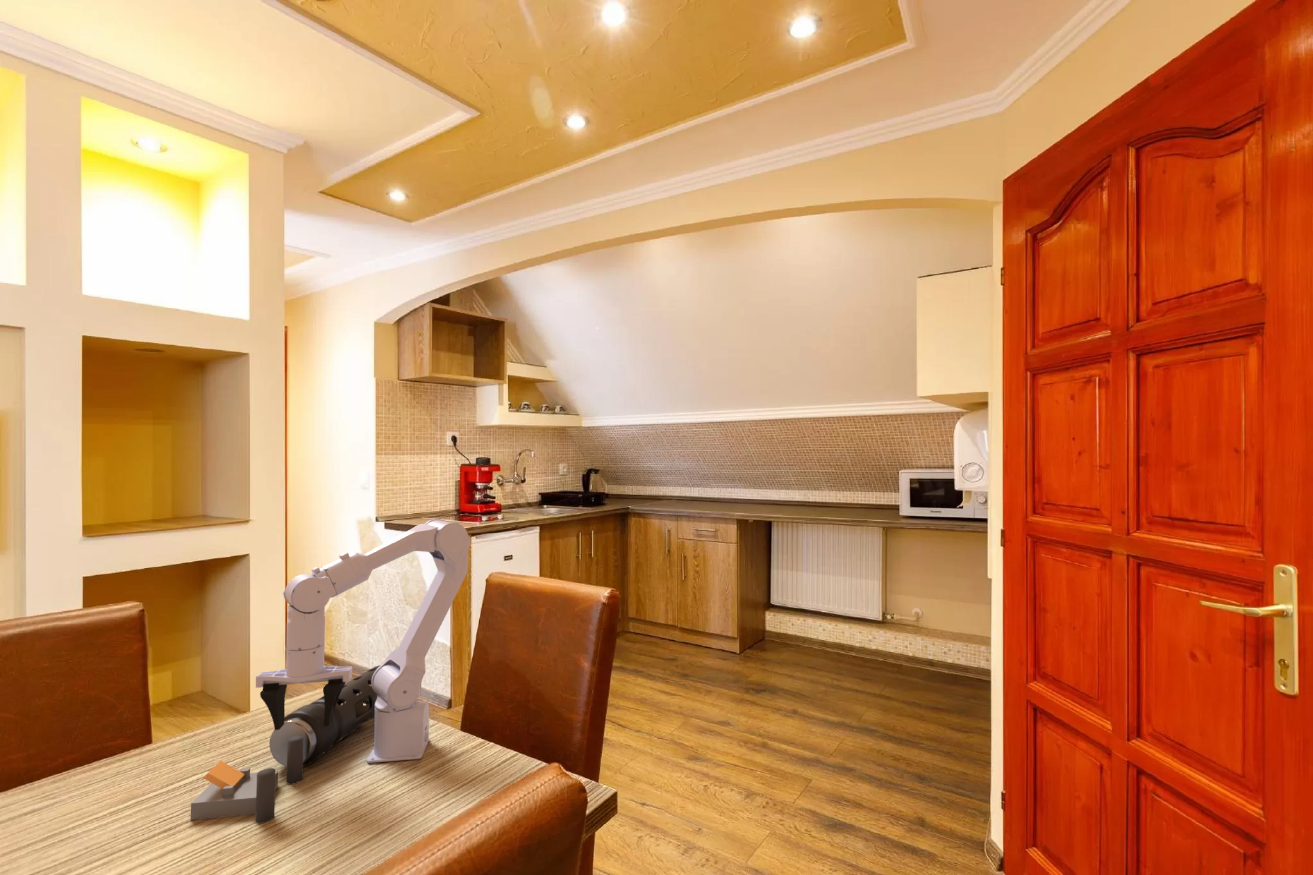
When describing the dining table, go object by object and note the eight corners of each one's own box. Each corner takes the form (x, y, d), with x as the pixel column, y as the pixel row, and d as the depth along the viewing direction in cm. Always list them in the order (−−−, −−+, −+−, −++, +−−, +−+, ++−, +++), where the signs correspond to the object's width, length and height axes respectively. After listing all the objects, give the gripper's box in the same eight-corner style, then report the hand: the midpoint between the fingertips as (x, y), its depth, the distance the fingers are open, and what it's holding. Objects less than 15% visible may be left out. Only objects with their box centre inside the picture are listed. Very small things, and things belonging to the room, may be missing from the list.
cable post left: (277, 812, 94) (278, 767, 94) (270, 822, 91) (271, 775, 92) (260, 814, 93) (261, 768, 94) (252, 823, 91) (253, 777, 91)
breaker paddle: (244, 774, 99) (220, 760, 98) (232, 786, 95) (207, 772, 94) (240, 779, 98) (216, 765, 98) (228, 792, 95) (203, 778, 94)
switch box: (277, 785, 101) (278, 763, 101) (255, 813, 93) (256, 789, 94) (218, 791, 100) (219, 767, 100) (190, 819, 92) (191, 794, 92)
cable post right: (304, 775, 105) (305, 735, 105) (299, 783, 102) (300, 741, 102) (289, 777, 104) (290, 736, 104) (283, 784, 102) (284, 742, 102)
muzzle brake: (362, 709, 134) (405, 704, 133) (264, 775, 106) (317, 769, 105) (356, 667, 135) (399, 661, 133) (258, 720, 107) (310, 714, 106)
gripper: (357, 636, 109) (356, 711, 109) (268, 640, 106) (267, 718, 106) (346, 648, 102) (344, 729, 102) (250, 654, 99) (248, 737, 99)
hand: (304, 725), depth 103 cm, fingers open, 7 cm apart
